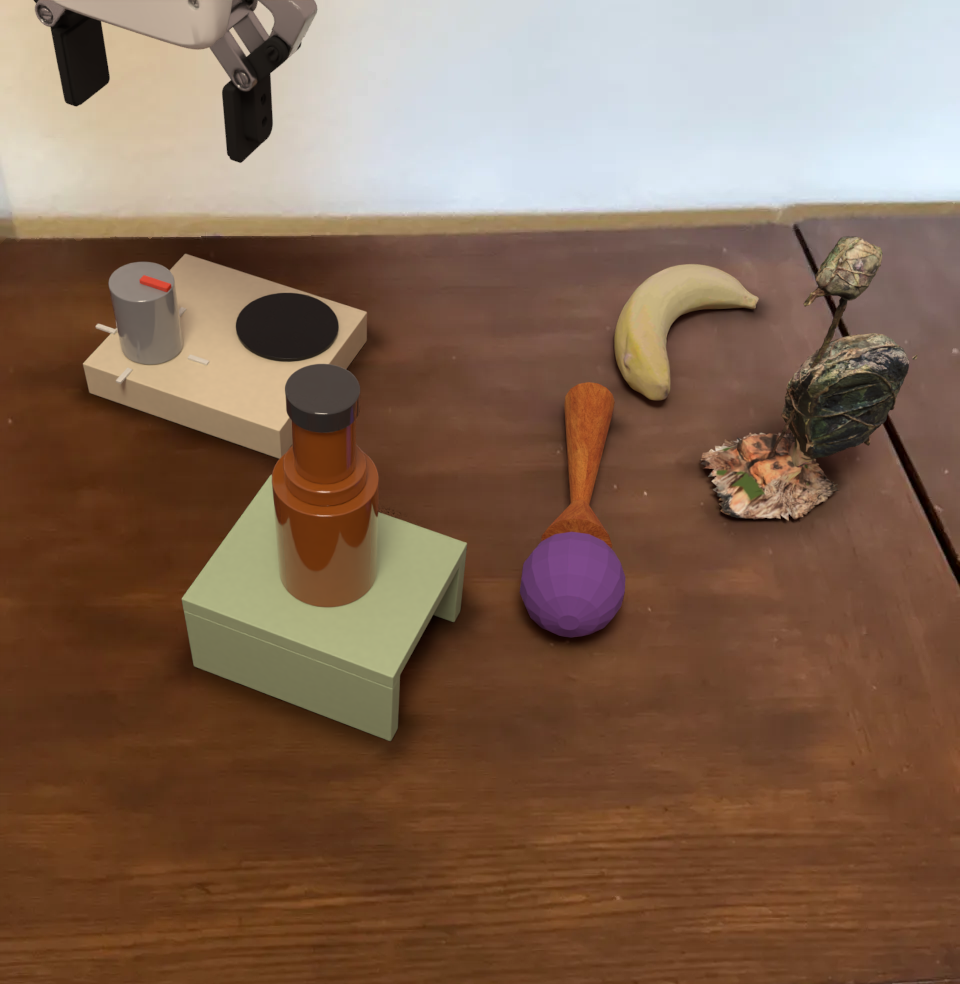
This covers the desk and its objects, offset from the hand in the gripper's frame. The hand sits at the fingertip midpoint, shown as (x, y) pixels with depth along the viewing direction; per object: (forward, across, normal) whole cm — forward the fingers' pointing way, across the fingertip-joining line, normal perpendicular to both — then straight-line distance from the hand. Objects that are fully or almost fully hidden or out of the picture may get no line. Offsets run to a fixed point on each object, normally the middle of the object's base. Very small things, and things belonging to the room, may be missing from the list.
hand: (167, 120), depth 65 cm
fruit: (+20, +26, +22) cm, 39 cm away
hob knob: (+18, -5, +2) cm, 19 cm away
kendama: (+20, +25, +2) cm, 33 cm away
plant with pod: (+20, +36, +12) cm, 43 cm away
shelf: (+20, +16, -12) cm, 29 cm away
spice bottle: (+14, +16, -12) cm, 25 cm away
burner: (+18, +2, +7) cm, 20 cm away
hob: (+21, -1, +5) cm, 21 cm away
